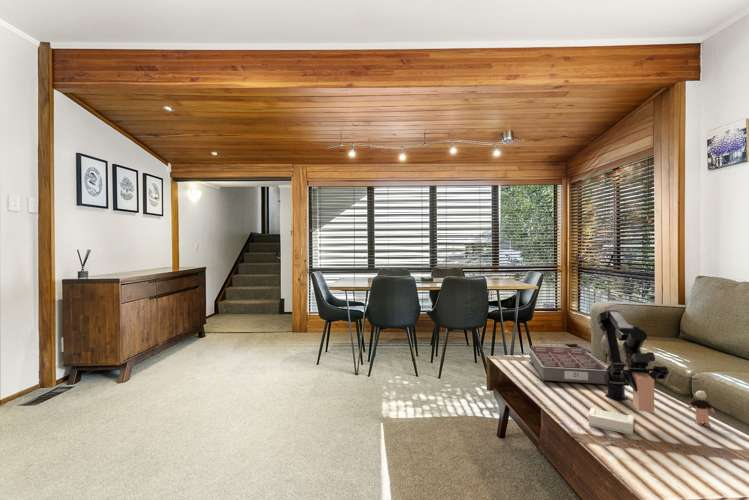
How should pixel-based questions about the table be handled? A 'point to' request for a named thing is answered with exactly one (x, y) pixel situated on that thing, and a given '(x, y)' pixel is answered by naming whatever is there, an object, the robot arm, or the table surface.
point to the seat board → (611, 421)
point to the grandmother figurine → (701, 408)
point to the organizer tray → (567, 364)
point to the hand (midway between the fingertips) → (644, 391)
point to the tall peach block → (643, 392)
